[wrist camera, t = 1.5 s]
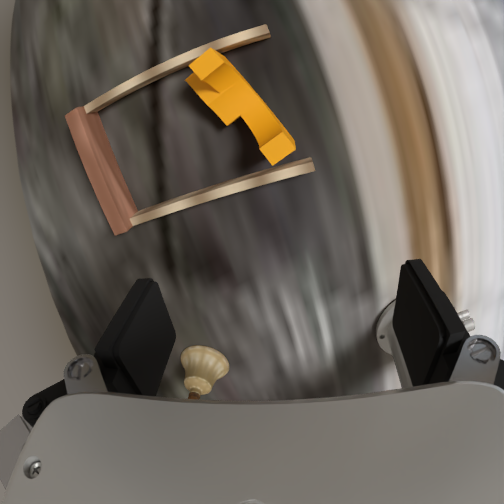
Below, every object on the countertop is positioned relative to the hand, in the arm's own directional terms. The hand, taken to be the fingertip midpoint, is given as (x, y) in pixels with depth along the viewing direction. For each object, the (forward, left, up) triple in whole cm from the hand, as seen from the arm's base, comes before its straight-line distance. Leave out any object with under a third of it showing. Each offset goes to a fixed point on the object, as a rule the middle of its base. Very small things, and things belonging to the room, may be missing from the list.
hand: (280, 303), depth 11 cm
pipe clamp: (+2, -7, -25) cm, 26 cm away
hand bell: (+21, +27, -25) cm, 42 cm away
